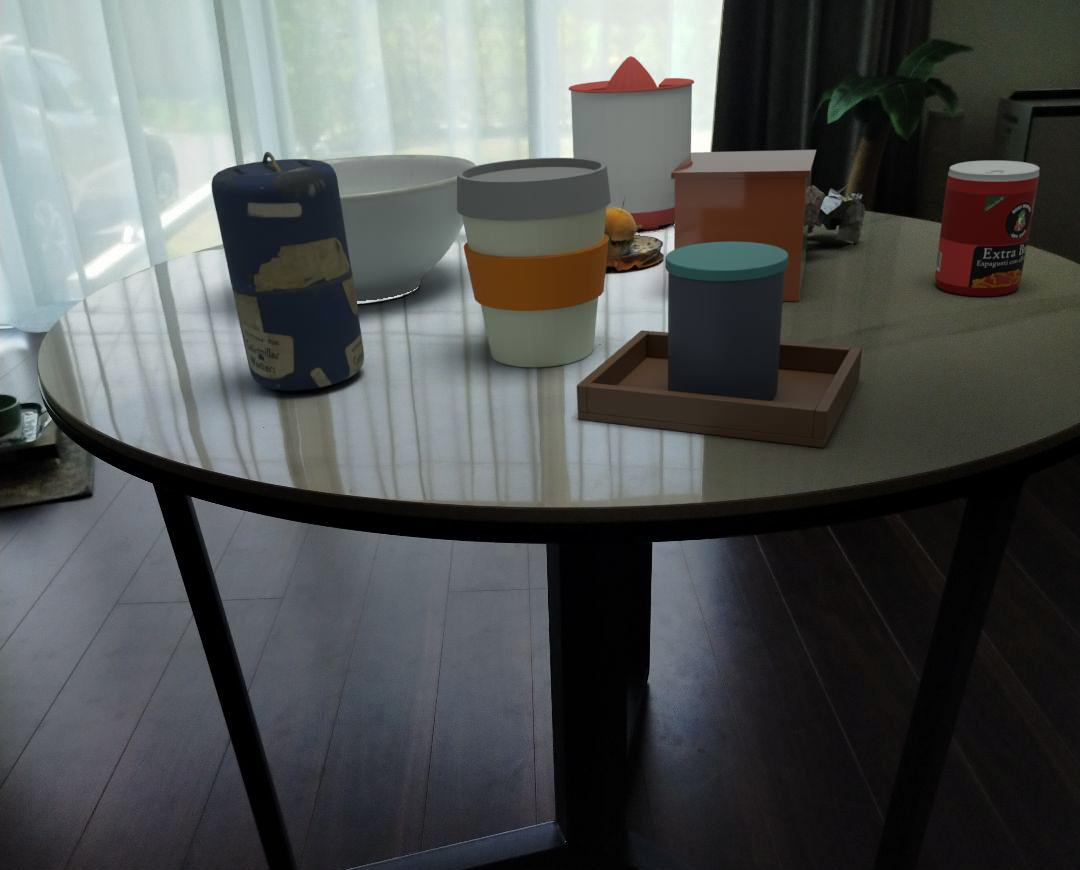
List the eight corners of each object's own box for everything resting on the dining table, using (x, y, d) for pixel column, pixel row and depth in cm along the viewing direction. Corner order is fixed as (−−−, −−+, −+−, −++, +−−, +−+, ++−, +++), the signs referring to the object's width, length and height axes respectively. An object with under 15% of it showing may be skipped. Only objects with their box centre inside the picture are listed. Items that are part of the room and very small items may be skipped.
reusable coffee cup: (443, 351, 88) (424, 173, 81) (556, 320, 94) (547, 153, 87) (525, 385, 79) (512, 188, 72) (644, 349, 85) (643, 164, 78)
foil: (907, 220, 109) (812, 152, 102) (849, 307, 112) (753, 248, 105) (848, 198, 118) (758, 135, 111) (797, 279, 122) (706, 223, 115)
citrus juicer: (703, 209, 137) (707, 48, 128) (679, 236, 123) (681, 57, 113) (594, 209, 142) (590, 53, 132) (559, 235, 128) (551, 63, 118)
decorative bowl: (434, 250, 124) (423, 147, 118) (527, 295, 103) (519, 172, 97) (217, 285, 114) (193, 175, 109) (270, 343, 93) (244, 210, 87)
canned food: (977, 302, 92) (996, 177, 86) (915, 284, 98) (929, 166, 93) (1038, 288, 94) (1061, 166, 89) (974, 272, 101) (991, 157, 96)
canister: (366, 355, 88) (334, 139, 80) (368, 391, 80) (333, 153, 71) (256, 367, 87) (212, 148, 78) (247, 404, 79) (196, 165, 70)
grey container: (791, 378, 75) (800, 243, 71) (763, 417, 69) (771, 272, 64) (685, 367, 79) (687, 239, 74) (648, 404, 72) (648, 266, 67)
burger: (645, 245, 120) (645, 180, 117) (678, 266, 110) (679, 196, 106) (549, 255, 118) (545, 190, 115) (573, 278, 108) (570, 207, 104)
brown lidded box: (807, 269, 105) (816, 149, 100) (801, 302, 95) (810, 170, 89) (689, 268, 109) (690, 152, 103) (670, 300, 98) (670, 172, 93)
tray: (859, 380, 76) (862, 347, 75) (824, 448, 65) (827, 411, 64) (641, 360, 83) (640, 329, 82) (577, 419, 72) (576, 385, 71)
